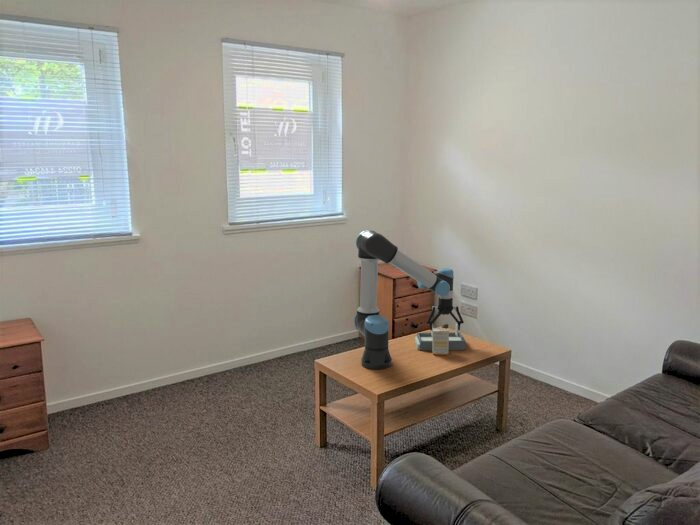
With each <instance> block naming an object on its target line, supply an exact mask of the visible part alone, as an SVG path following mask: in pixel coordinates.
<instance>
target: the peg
mask: <svg viewBox="0 0 700 525" xmlns="http://www.w3.org/2000/svg"><path fill="white" fill-rule="evenodd" d="M441 328H446V329H448V330H449V323H446V322H444V323H442V324H441Z"/></svg>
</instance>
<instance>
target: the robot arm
mask: <svg viewBox="0 0 700 525" xmlns="http://www.w3.org/2000/svg"><path fill="white" fill-rule="evenodd" d="M355 246H356V248H357V249H358V255H357V257H358V259H359V260H360V287H359V288H360V290H359V291H360V294H359V307H357V308H356V314H355V316H354V318H353V324H354V327H355V329H356V330H357V331H358V332H359V333H361V335H362V336H363V337H364V350H363V353H362V356H361V358H360V359H361V365H362V367H365V369H370V370H383V369H388V368H389V367H392V364H393V359H392V356H391V352H390V350H389V328H390V326H389V320H388V318H386V317H385V316H382V315H381V314H380V312H381V311H380V309H379V307H378V281H379V280H378V278H379V277H378V275H379V274H378V272H379V271H378V270H379V261H382V262H383V263H385V264H386V265H388V264H390V265H392V266H393V267H395V268H396V269H398V270H400V271H401V272H403V273H404V274H405V275H407V276H408V277H410V278H411V279H413V280H415V281H416V284H417V287H418V288H419V289H421V290H425V289H428V290H429V291H431V292H433V293H435V294H436V295H438V299H437V300H438V302H437V303H438V304H437V306H434V305H432V307H431V310H430V313H429V315H428V317H427V319H426V321H425V322H426V324H428V325H429V330H430V331H431V332H430V333H431V335H432V334H433V328H435V326H434V323H435V322H436V321H437V319H439V317H440V316H441V315H442V316H444V315H447V316H448V315H450V316H451V317H452V318H453V319H454V321H455V332H456V336H458V332H459V331H460V330H461V324H464V322H465V321H464V320H463V317H462V315H461V313H460V310H459V306H458V305H455V306H453V301H454V300H453V298H454V279H455V277H454V276H455V275H454V270H453V268H449V267H447V268H446V267H445V268H444V267H442V268H439V269H438V270H439V271H438V272H437V273H434V272H431V271H430V270H429V269H427V268H426V267H424V266H423V265H421V264H420V263H418V262H417V261H416V260H414V259H412V258H411V257H410V256H408V255H406V254H404V253H403V252H401V250H399V248H398V246H396V245H395V244H394V243H393V242H391V241H390V240H389V239H387V238H386V237H385V236H384V235H383V234H381V233H379V232H377V231H375V230H370V229H369V230H368V229H367V230H363V231H361V232H360V233H359V234H357V236H356V239H355ZM436 311H437V312H436ZM452 311H455V312H456V314H457V317H458V318H459V319H458V318H457V317H456V315H455V314H454V313H453V312H452ZM435 312H436V314H435ZM434 314H435V315H434Z"/></svg>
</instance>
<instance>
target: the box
mask: <svg viewBox="0 0 700 525" xmlns="http://www.w3.org/2000/svg"><path fill="white" fill-rule="evenodd" d="M414 342H415V343H414V344H415V346H416V349H417V350H419V351H432V335H431V332H417V333H416V336H414ZM466 343H467V342H466V338H464V336H463V334H462V332H459V331H458V336H456V331H455V332H453V331H452V332H450V331H449V351H465V350H466V345H467V344H466Z"/></svg>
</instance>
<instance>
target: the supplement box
mask: <svg viewBox="0 0 700 525" xmlns="http://www.w3.org/2000/svg"><path fill="white" fill-rule="evenodd" d="M449 332H450V330H449V328H448V329H446V328H442V327H440V328H439V327H437V328H436V327H434V328H433V334H432V350H431V351H432V355H438V356H442V355H443V356H447V355H448V356H449V353H450V352H449V351H450V350H449Z"/></svg>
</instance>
